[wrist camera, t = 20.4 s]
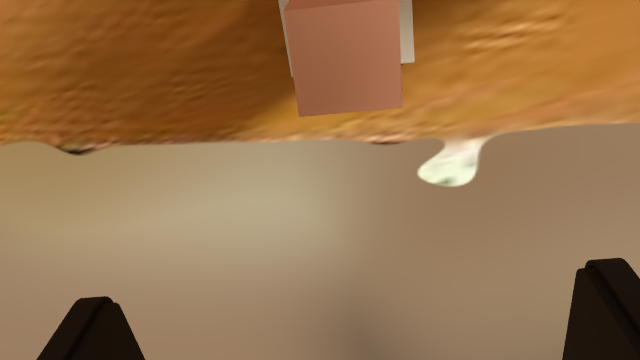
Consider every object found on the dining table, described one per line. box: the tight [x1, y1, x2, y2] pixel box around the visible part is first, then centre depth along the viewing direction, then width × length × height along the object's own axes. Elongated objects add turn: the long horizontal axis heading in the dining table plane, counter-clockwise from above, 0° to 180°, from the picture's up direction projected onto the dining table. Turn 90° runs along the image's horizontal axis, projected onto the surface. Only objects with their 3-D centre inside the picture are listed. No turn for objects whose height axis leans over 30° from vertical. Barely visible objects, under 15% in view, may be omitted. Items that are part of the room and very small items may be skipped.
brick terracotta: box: [283, 0, 403, 117], centre depth 29 cm, size 6×6×6 cm
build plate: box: [278, 0, 415, 77], centre depth 39 cm, size 11×11×5 cm
